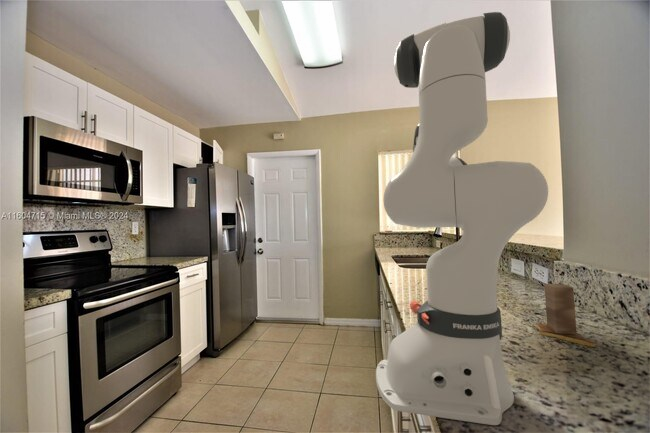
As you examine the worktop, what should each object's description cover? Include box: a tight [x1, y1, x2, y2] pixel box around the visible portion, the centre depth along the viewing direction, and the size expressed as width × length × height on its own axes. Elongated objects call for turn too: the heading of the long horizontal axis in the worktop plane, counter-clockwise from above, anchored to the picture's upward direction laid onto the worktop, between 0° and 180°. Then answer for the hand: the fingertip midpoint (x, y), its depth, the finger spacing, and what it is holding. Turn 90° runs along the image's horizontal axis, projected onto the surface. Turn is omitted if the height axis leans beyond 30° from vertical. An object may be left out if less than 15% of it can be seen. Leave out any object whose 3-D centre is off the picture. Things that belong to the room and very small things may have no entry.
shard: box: [533, 323, 598, 348], centre depth 64 cm, size 11×8×2 cm
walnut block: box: [543, 283, 578, 334], centre depth 65 cm, size 4×4×11 cm
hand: (493, 236), depth 76 cm, fingers open, 8 cm apart
